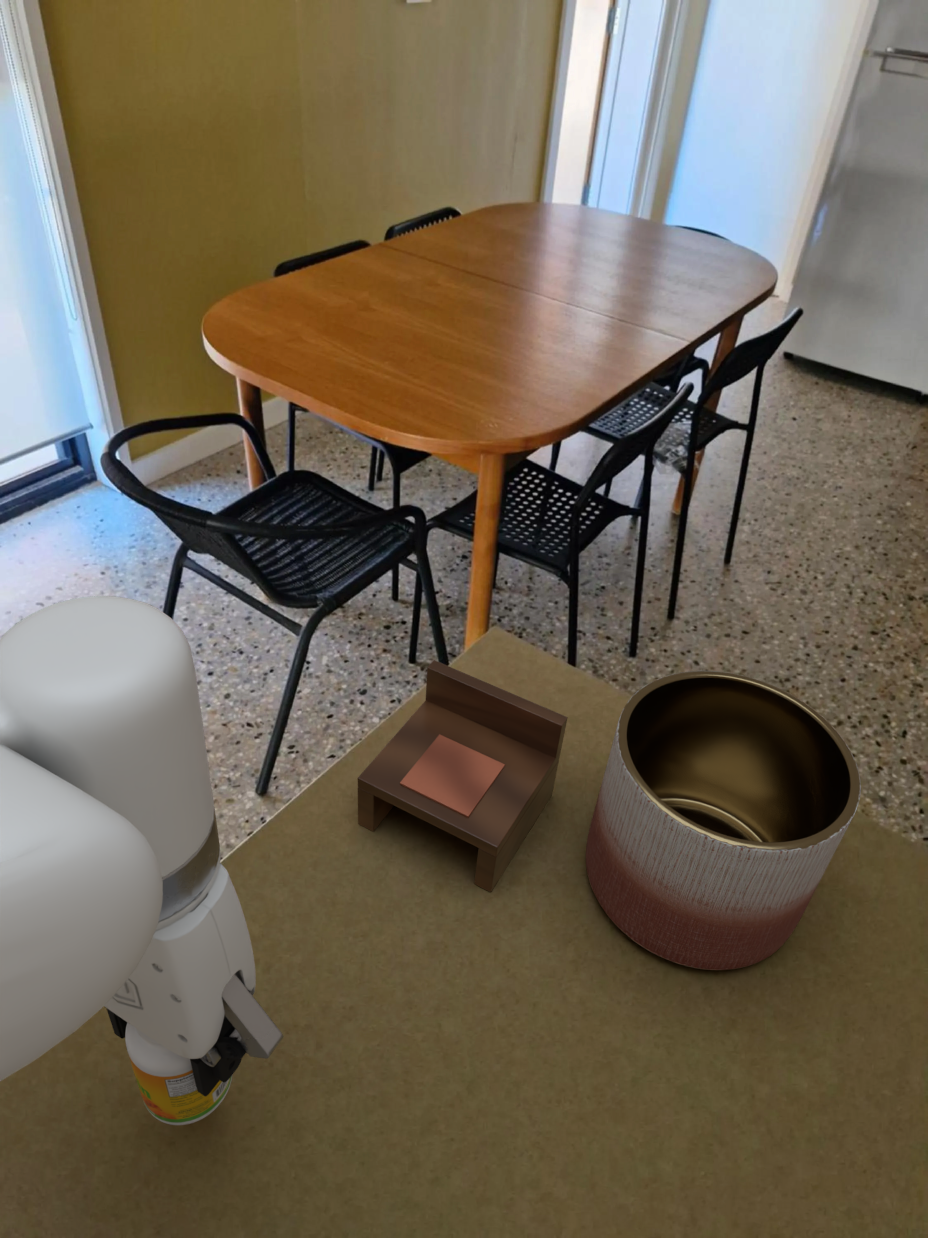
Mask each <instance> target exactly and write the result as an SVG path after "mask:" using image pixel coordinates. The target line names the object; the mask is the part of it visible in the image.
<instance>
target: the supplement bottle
mask: <svg viewBox="0 0 928 1238" xmlns="http://www.w3.org/2000/svg"><path fill="white" fill-rule="evenodd" d="M124 1040H125V1046H126V1051H127V1054H128V1055H127V1056H128V1058H129V1062H130V1065H131V1067H132V1071H133V1074H134V1077H135V1081H136V1084H137V1086H138V1089H139V1093H140V1096H141V1099H142V1101H143V1105H144V1106H145V1108H146V1110H147V1111H148V1113H150V1115H151V1116H152V1117H153V1118H155V1119H156V1120H158V1121H159V1122H161V1123H164V1124H167V1125H171V1126H185V1125H190V1124H194V1123H197V1122H199V1121H201V1120H203V1119H205V1118H206V1117H208V1116H209V1115H210V1114H212V1113H213V1112H214V1111H215V1110H216V1109H217V1108H218V1107H219V1106H220V1105H221V1104H222V1102H223V1101H224V1099H225V1098H226V1096H227V1094H228V1092H229V1090H230V1087H231V1086H232V1085H231V1084H232V1081H233V1075H232V1076H231V1077H230V1078H229V1080H227V1081H226V1082H222V1081H219V1082H218V1083H217V1085H216V1086H215V1087H214V1088H213V1090H212V1091H211V1092H210V1093H209V1095H207V1096H206V1097H205V1096H203V1095H202V1094H201V1093H199V1092H198V1091H197V1087H196V1084H195V1079H194V1075H193V1070H192V1066H191V1061H190V1059H189V1058H184V1057H181V1056H179V1055H177V1054H175V1053H173V1052H172V1051H170V1050H168V1049H167V1048H165V1047H164V1046H162V1045H161V1044H159V1043H158V1042H156V1041H155V1040H153V1039H152V1038H150V1037H149V1036H147V1035H146V1034H144V1033H143V1032H141V1031H140V1030H138V1029H137V1028H135V1027H134V1026H132V1025H131V1024H129V1023H128V1022H127V1025H126V1032H125V1038H124Z"/></svg>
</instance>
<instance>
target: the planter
mask: <svg viewBox="0 0 928 1238" xmlns="http://www.w3.org/2000/svg"><path fill="white" fill-rule="evenodd" d="M861 785H862V783H861V776H860V772H859V767H858V764H857V762H856V759H855V757H854V755H853V753H852V751H851V749H850V747H849V746H848V744H847V743H846V741H845V740H844V738H843V737H842V735H841V734H840V733H839V732H838V730H837V729H836V728H835V727H834V726H833V725H832V724H831V723H830V722H829V721H828V720H827V719H826V718H825V717H824V716H823V715H822V714H820V713H819V712H818V711H816V709H814V708H813V707H812V706H811V705H809V704H808V703H806V702H805V701H803V700H801V699H800V698H798V697H796V696H795V695H793V694H792V693H790V692H788V691H786V690H784V689H781V688H780V687H778V686H775V685H773V684H770V683H768V682H766V681H763V680H760V679H758V678H757V679H756V678H754V677H751V676H746V675H743V674H737V673H733V672H726V671H719V670H718V671H717V670H688V671H681V672H676V673H672V674H668V675H665V676H661V677H659V678H657V679H655V680H652V681H651V682H649V683H647V684H646V685H644V686H642V687H640V689H638V690H637V691H636V692H634V694H633V695H632V696H631V697H630V698H629V699H628V700H627V702H626V703H625V705H624V707H623V708H622V710H621V713H620V715H619V718H618V721H617V725H616V729H615V732H614V736H613V740H612V744H611V748H610V751H609V755H608V758H607V763H606V766H605V770H604V773H603V778H602V781H601V785H600V789H599V791H598V795H597V799H596V801H595V806H594V809H593V814H592V817H591V821H590V825H589V829H588V834H587V838H586V847H585V867H586V868H585V869H586V873H587V877H588V881H589V883H590V884H589V885H590V887H591V890H592V892H593V894H594V896H595V898H596V900H597V902H598V903H599V905H600V907H601V908H602V910H603V912H605V914H606V916H608V918H609V919H610V920H611V921H612V922H613V924H614V925H615V926H616V927H617V928H618V929H619V930H620V931H621V932H622V933H624V934H625V935H626V936H627V937H628V938H629V939H631V940H632V941H633V942H634V943H636V944H637V945H639V946H640V947H642V948H643V949H645V950H647V951H648V952H650V953H652V954H654V955H655V956H658V957H660V958H662V959H665V960H667V961H668V962H671V963H675V964H677V965H681V966H684V967H688V968H694V969H700V970H708V971H728V970H736V969H742V968H746V967H749V966H752V965H755V964H758V963H760V962H762V961H764V960H766V959H768V958H769V957H771V956H772V955H773V954H775V953H776V952H777V951H778V950H779V949H781V948H782V946H784V944H786V942H787V941H788V939H789V938H790V937H791V936H792V935H793V933H794V931H795V929H796V928H797V926H798V924H799V923H800V921H801V919H802V917H803V916H804V914H805V911H806V910H807V908H808V905H809V904H810V902H811V900H812V898H813V896H814V894H815V892H816V890H817V888H818V886H819V884H820V882H821V881H822V878H823V877H824V874H825V872H826V871H827V869H828V866H829V864H830V862H831V860H832V858H833V857H834V855H835V853H836V851H837V849H838V847H839V845H840V843H841V841H842V839H843V838H844V836H845V834H846V832H847V830H848V828H849V826H850V824H851V822H852V820H853V819H854V817H855V815H856V813H857V810H858V807H859V804H860V799H861V792H862V786H861Z"/></svg>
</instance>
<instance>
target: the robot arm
mask: <svg viewBox="0 0 928 1238" xmlns="http://www.w3.org/2000/svg"><path fill="white" fill-rule="evenodd" d="M202 715H203V714H202V708H201V702H200V695H199V688H198V679H197V674H196V667H195V662H194V657H193V654H192V649H191V645H190V643H189V640H188V639H187V637H186V635H185V633H184V631H183V630H182V629H181V627H180V626H179V625H178V624H177V622H175V620H174V619H173V618H172V617H170V616H169V615H168V614H166V613H165V612H163V611H162V610H161V609H159V608H158V607H155V606H154V605H151V604H149V603H147V602H144V601H141V600H137V599H135V598H129V597H122V596H114V595H113V596H111V595H92V596H91V595H90V596H82V597H77V598H69V599H67V600H62V601H59V602H56V603H52V604H50V605H48V606H44V607H43V608H41V609H39V610H37V611H35V612H32V613H31V614H29V615H27V616H25V617H24V618H23V619H21V620H19V621H18V622H16V623H15V624H14V625H12V626H11V627H10V628H9V629H8V630H7V631H6V632H5V633H3V635H2V636H1V637H0V1082H2V1081H4V1080H5V1079H7V1078H9V1077H10V1076H12V1075H13V1074H15V1073H17V1072H18V1071H20V1070H22V1069H23V1068H25V1067H27V1066H29V1065H30V1064H32V1063H33V1062H35V1061H36V1060H38V1059H39V1058H40V1057H42V1056H43V1055H45V1054H46V1053H47V1052H49V1051H50V1050H51V1049H53V1048H54V1047H55V1046H57V1045H58V1044H60V1043H62V1042H63V1041H65V1039H67V1038H68V1037H70V1036H71V1035H72V1034H74V1033H75V1032H76V1031H78V1030H79V1029H80V1028H81V1027H82V1026H83V1025H84V1024H86V1023H87V1022H88V1021H89V1020H90V1019H91V1018H93V1017H94V1016H95V1015H96V1014H97V1013H99V1011H101V1009H103V1008H104V1007H105V1008H106V1011H107V1015H108V1017H109V1022H110V1024H111V1027H112V1030H113V1033H114V1035H115V1036H117V1037H118V1038H119V1039H121V1040H122V1039H125V1032H126V1025H127V1022H128V1023H129V1024H131V1025H132V1026H134V1027H135V1028H137V1029H138V1030H140V1031H141V1032H143V1033H144V1034H146V1035H147V1036H149V1037H150V1038H152V1039H153V1040H155V1041H156V1042H158V1043H159V1044H161V1045H162V1046H164V1047H165V1048H167V1049H168V1050H170V1051H172V1052H173V1053H175V1054H177V1055H179V1056H181V1057H184V1058H189V1059H190V1061H191V1066H192V1070H193V1075H194V1079H195V1084H196V1087H197V1091H198V1092H199V1093H201V1094H202V1095H203V1096H205V1097H206V1096H207V1095H209V1093H210V1092H211V1091H212V1090H213V1088H214V1087H215V1086H216V1085H217V1083H218V1082H219V1081H222V1082H226V1081H227V1080H229V1078H230V1077H231V1076H232V1077H233V1075H234V1074H235V1072H236V1071H237V1069H238V1068H239V1067H240V1065H241V1062H242V1059H243V1058H244V1057H245V1055H247V1054H248V1056H249V1057H250V1058H256V1059H257V1058H258V1059H266V1060H267V1059H269V1058H270V1056H271V1055H272V1054H273V1053H274V1051H275V1050H276V1048H278V1046H279V1044H280V1043H281V1042H282V1040H283V1039H284V1034H283V1033H282V1031H281V1030H280V1028H278V1026H277V1025H276V1023H274V1020H272V1018H271V1017H270V1016H269V1014H267V1012H266V1011H265V1010H264V1008H263V1007H262V1005H260V1003H259V1002H258V1001H257V1000H256V998H255V996H254V994H255V992H256V985H257V980H256V979H257V977H256V976H257V975H256V963H255V962H256V961H255V956H254V951H253V950H254V949H253V945H252V941H251V935H250V932H249V928H248V925H247V920H246V917H245V915H244V911H243V907H242V905H241V901H240V899H239V896H238V893H237V890H236V888H235V886H234V884H233V882H232V878H231V877H230V874H229V872H228V869H227V868H226V867H225V866H224V865H223V864H222V863H221V858H222V853H221V845H220V837H219V831H218V822H217V816H216V810H215V809H216V808H215V802H214V794H213V787H212V780H211V772H210V765H209V758H208V750H207V745H206V744H207V743H206V737H205V730H204V721H203V716H202Z"/></svg>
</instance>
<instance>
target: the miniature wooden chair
mask: <svg viewBox="0 0 928 1238" xmlns="http://www.w3.org/2000/svg"><path fill="white" fill-rule="evenodd" d="M568 719H569V718H568V716H566V715H563V714H561V713H559V712H557V711H554V710H551V709H549V708H547V707H545V706H542V705H541V704H538V703H535V702H533V701H531V700H529V699H525V698H523V697H522V696H519V695H517V694H515V693H512V692H510V691H509V690H505V689H503V688H500V687H498V686H496V685H493V684H491V683H488V682H486V681H485V680H482V679H479V678H477V677H475V676H473V675H470V674H468V673H465V672H463V671H462V670H459V669H456V668H453V667H451V666H449V665H448V664H445V663H442V662H440V661H439V660H438V661H437V660H435V659H433V661H432V662H431V663H430V664H429V665H428V666H427V667H426V685H425V700H424V701H423V703H422V704H421V705H420V706H419V707H418V708H417V709H416V710H415V712H414V713H413V714H412V715H411V716H410V717H409V718H408V720H407V721H406V722H405V723H404V724H403V725H402V726H401V728H399V730H398V731H397V732H396V733H395V734H394V735H393V737H392V738H391V739H390V741H389V742H388V743H386V745H385V746H384V747H383V748H382V749H381V751H380V752H379V753H378V754H377V755H376V756H375V758H374V759H373V760H372V761H371V762H370V763H369V764H368V765H367V767H366V768H365V769H364V770H363V771H362V772H361V774H360V775H358V777H357V824H358V825H360V826H362V827H363V828H365V829H367V830H369V831H371V832H374V831H376V829H377V828H378V826H379V825H380V824H381V823H382V821H383V820H384V819H385V818H386V817H387V815H388V814H389V813H390V811H392V809H393V808H394V807H397V808H398V809H400V810H402V811H404V812H406V813H408V814H410V815H412V816H414V817H416V818H417V819H420V820H422V821H424V822H426V823H428V824H430V825H432V826H434V827H436V828H438V829H440V830H441V831H444V832H446V833H447V834H449V835H452V836H454V837H456V838H458V839H460V840H462V841H463V842H466V843H468V844H470V845H472V846H474V847H476V848H477V849H478V851H477V858H476V866H475V874H474V881H473V884H474V885H475V886H477V887H479V888H481V889H483V890H485V891H487V892H489V893H491V892H492V891H493V890H494V888H495V887H496V885H497V883H498V882H499V881H500V879H501V877H502V876H503V874H504V872H505V871H506V869H507V867H509V864H510V863H511V861H512V860H513V858H514V857H515V855H516V853H517V852H518V850H519V848H520V847H521V845H522V844H523V842H524V840H525V839H526V837H527V836H528V834H529V832H530V831H531V829H532V828H533V826H534V824H535V822H537V820H538V818H539V816H540V815H541V813H542V812H543V810H544V809H545V807H546V805H547V803H548V802H549V801H550V799H551V797H552V796H553V792H554V787H555V783H556V782H555V781H556V777H557V772H558V768H559V767H558V766H559V762H560V757H561V752H562V747H563V742H564V738H565V733H566V728H567V723H568Z"/></svg>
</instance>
